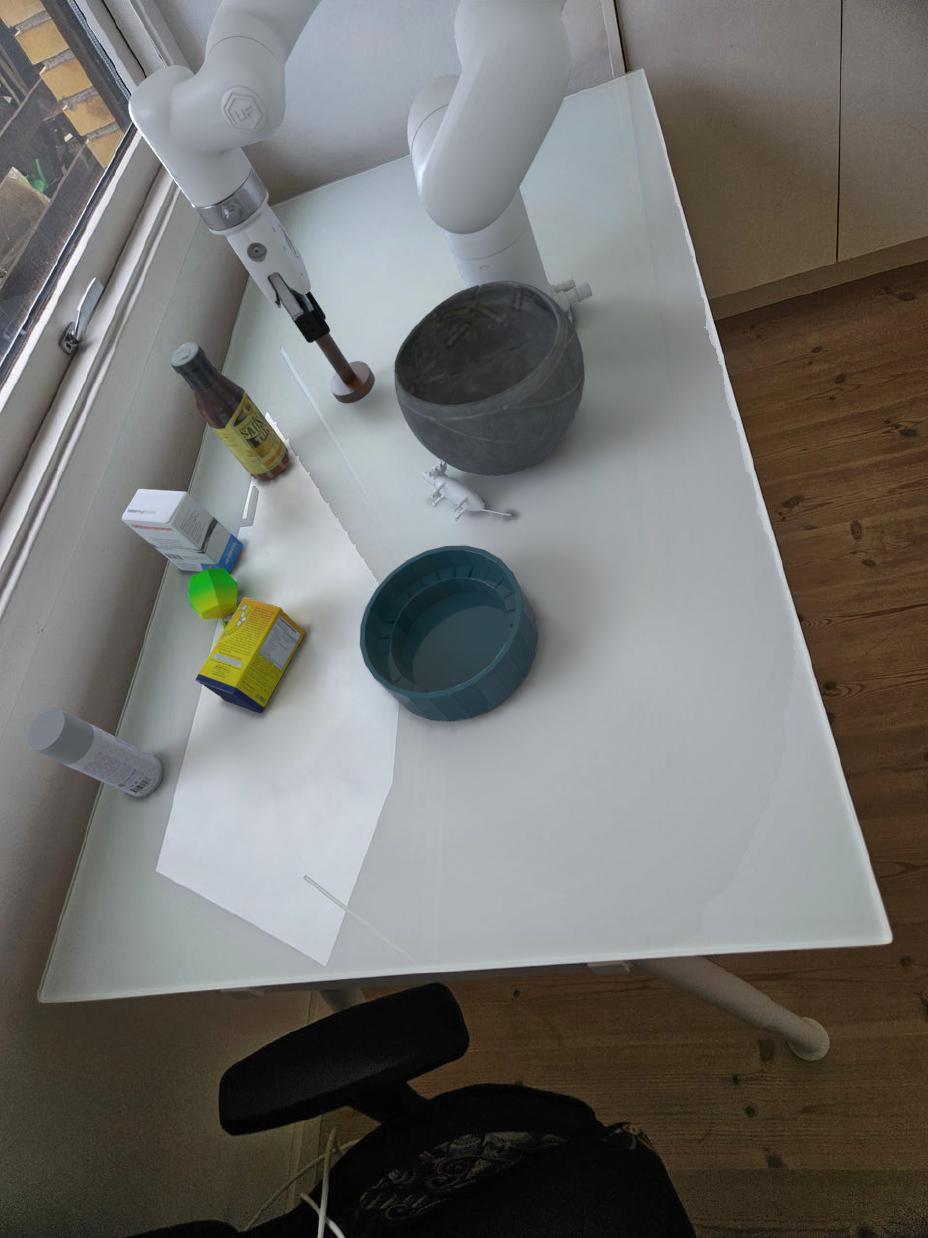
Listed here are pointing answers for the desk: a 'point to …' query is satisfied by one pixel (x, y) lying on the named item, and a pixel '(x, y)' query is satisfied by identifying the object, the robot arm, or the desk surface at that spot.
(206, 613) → the green faceted rounded lump
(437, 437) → the bowl
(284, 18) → the robot arm
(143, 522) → the ink box
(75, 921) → the desk surface
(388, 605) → the mixing bowl
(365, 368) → the wooden potato masher
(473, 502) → the white plastic figurine
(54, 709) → the container
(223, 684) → the supplement box
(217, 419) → the sauce bottle
